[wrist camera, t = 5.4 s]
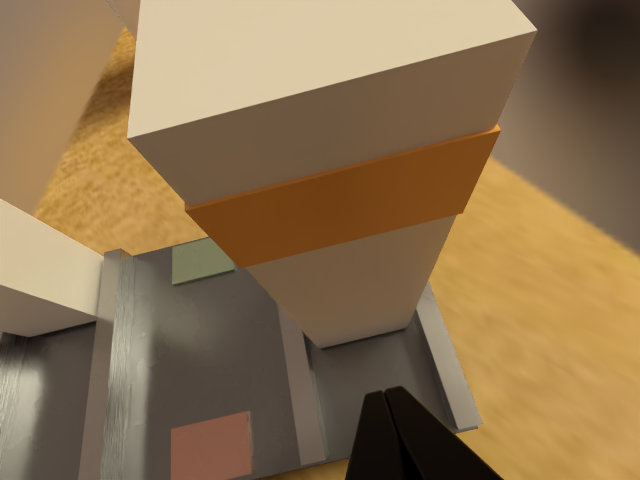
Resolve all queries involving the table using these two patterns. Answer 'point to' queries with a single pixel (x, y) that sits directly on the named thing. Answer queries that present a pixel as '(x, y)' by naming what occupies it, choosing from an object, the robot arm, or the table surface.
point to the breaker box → (205, 379)
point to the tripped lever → (326, 138)
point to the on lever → (44, 276)
